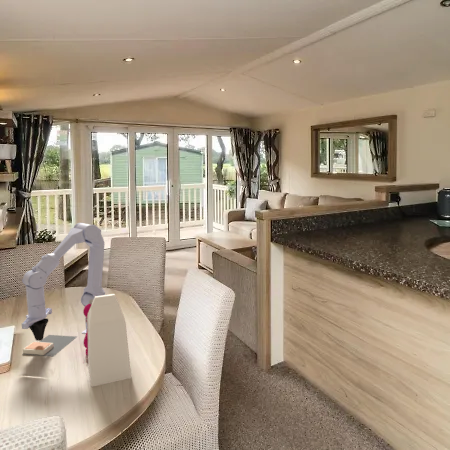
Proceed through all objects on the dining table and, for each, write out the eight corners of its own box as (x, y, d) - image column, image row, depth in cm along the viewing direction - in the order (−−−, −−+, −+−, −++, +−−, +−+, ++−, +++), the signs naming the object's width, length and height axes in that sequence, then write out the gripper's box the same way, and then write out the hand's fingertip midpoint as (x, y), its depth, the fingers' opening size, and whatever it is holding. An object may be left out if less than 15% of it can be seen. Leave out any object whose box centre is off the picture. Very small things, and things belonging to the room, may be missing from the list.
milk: (91, 386, 116) (85, 304, 113) (88, 368, 127) (83, 292, 123) (131, 377, 121) (127, 298, 117) (125, 361, 132) (121, 287, 128)
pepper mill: (83, 350, 139) (80, 297, 136) (104, 346, 142) (101, 294, 139) (85, 359, 133) (81, 304, 130) (106, 355, 136) (103, 301, 132)
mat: (77, 337, 150) (77, 336, 150) (53, 357, 134) (53, 356, 134) (48, 335, 152) (48, 334, 152) (22, 355, 136) (21, 354, 136)
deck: (53, 342, 141) (43, 350, 135) (53, 347, 141) (43, 354, 136) (33, 341, 142) (22, 348, 136) (33, 345, 143) (23, 353, 137)
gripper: (38, 296, 145) (41, 330, 147) (12, 310, 131) (15, 348, 133) (55, 297, 144) (58, 331, 146) (31, 311, 130) (34, 349, 132)
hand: (39, 339), depth 139 cm, fingers closed
